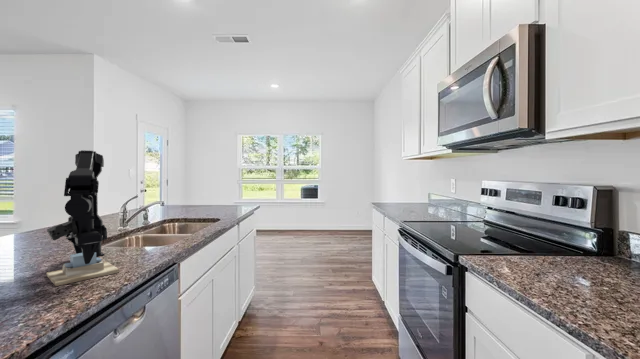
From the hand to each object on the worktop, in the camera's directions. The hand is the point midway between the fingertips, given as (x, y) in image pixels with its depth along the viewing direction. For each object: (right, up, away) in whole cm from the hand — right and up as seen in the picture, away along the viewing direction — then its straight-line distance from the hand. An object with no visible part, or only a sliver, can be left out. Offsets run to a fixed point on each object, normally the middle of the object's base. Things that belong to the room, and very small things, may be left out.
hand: (83, 261), depth 98 cm
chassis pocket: (0, -4, 0) cm, 4 cm away
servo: (0, -3, 0) cm, 3 cm away
